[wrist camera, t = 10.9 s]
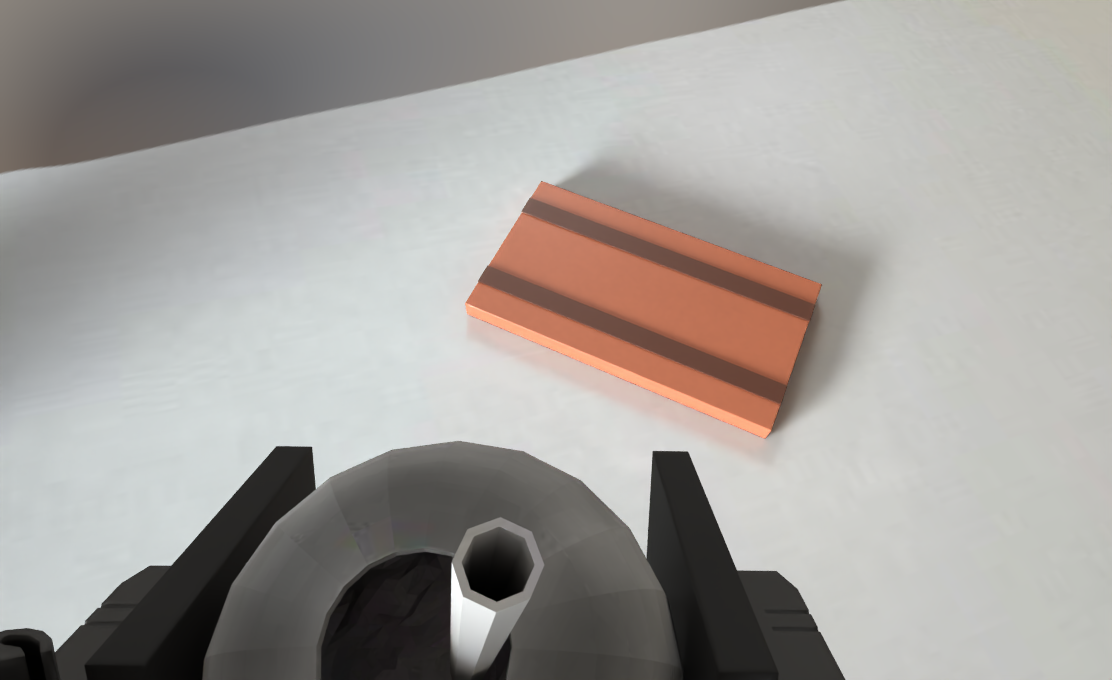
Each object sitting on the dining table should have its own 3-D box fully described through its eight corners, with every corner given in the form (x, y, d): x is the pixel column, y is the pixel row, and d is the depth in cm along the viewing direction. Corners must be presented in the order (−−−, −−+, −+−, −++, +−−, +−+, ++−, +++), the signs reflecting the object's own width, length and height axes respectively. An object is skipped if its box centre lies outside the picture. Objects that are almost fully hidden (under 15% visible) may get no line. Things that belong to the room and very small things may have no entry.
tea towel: (466, 314, 42) (464, 302, 41) (541, 193, 46) (541, 179, 45) (765, 439, 38) (771, 430, 37) (815, 295, 43) (822, 283, 41)
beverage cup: (391, 573, 23) (-99, 78, 6) (616, 575, 23) (831, 90, 6) (360, 848, 20) (-1194, 1802, 2) (625, 850, 20) (1254, 1812, 2)
